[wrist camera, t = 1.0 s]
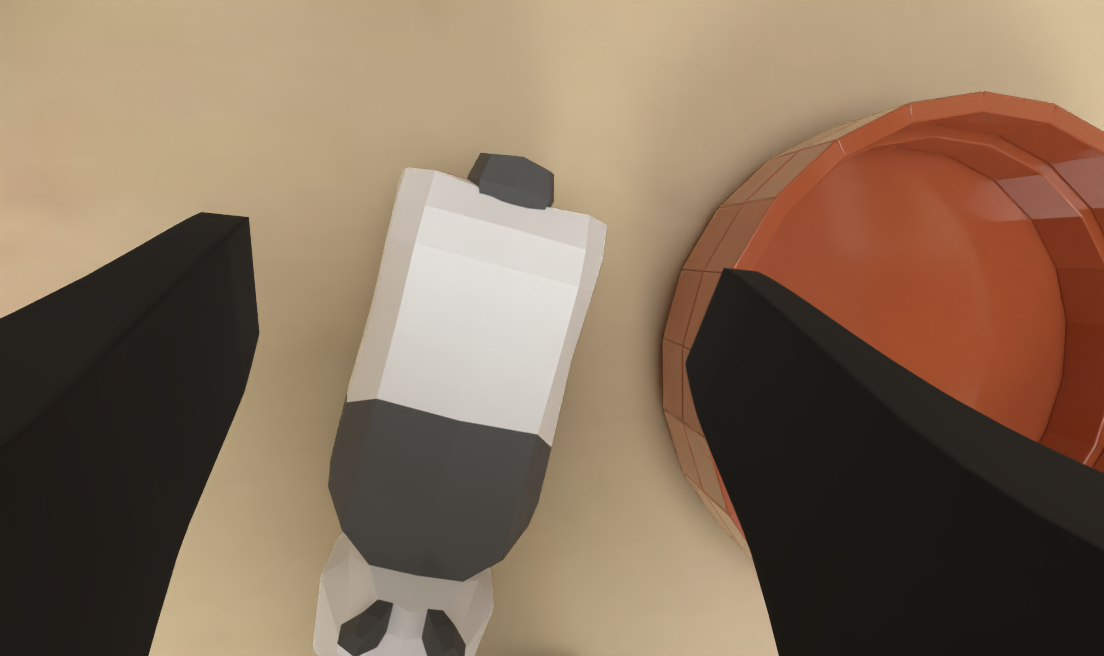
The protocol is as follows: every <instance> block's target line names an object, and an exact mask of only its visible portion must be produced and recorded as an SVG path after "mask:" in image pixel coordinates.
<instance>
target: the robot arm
mask: <svg viewBox="0 0 1104 656" xmlns="http://www.w3.org/2000/svg"><path fill="white" fill-rule="evenodd" d="M258 337H259V325H258V314H257V303H256V292H255V281H254V270H253V259H252V248H251V237H250V226H249V217H242V216H232V215H223V214H214V213H204V212H201V213H198V214H196V215H194V216H192V217H190V218H188V219H186V220H184V221H182V222H181V223H179V224H177V225H175V226H173V227H172V228H170V229H168V230H166V231H165V232H163V233H161V234H159V235H158V236H156V237H154V238H152V239H151V240H149V241H147V242H145V243H144V244H142V245H140V246H139V247H137V248H135V249H133V250H131V251H130V252H128V253H126V254H124V255H123V256H121V257H119V258H117V259H115V260H114V261H112V262H110V263H108V264H106V265H105V266H103V267H101V268H99V269H98V270H96V271H94V272H92V273H90V274H89V275H87V276H85V277H83V278H81V279H79V280H77V281H75V282H73V283H71V284H69V285H67V286H65V287H63V288H61V289H59V290H57V291H55V292H53V293H51V294H49V295H47V296H45V297H43V298H41V299H39V300H37V301H35V302H33V303H31V304H29V305H27V306H25V307H23V308H21V309H19V310H17V311H15V312H13V313H11V314H9V315H7V316H5V317H3V318H0V656H148V655H149V652H150V648H151V644H152V641H153V637H154V634H155V630H156V626H157V623H158V620H159V616H160V613H161V609H162V606H163V603H164V599H165V596H166V593H167V589H168V586H169V582H170V579H171V576H172V572H173V569H174V566H175V562H176V559H177V556H178V553H179V550H180V547H181V545H182V542H183V539H184V536H185V534H186V531H187V528H188V526H189V523H190V521H191V518H192V516H193V513H194V511H195V509H196V506H197V504H198V502H199V499H200V497H201V495H202V492H203V490H204V487H205V485H206V483H207V480H208V478H209V476H210V473H211V471H212V468H213V466H214V464H215V461H216V459H217V457H218V454H219V452H220V450H221V447H222V445H223V442H224V440H225V438H226V435H227V433H228V430H229V428H230V426H231V423H232V421H233V418H234V416H235V414H236V411H237V409H238V406H239V404H240V401H241V399H242V396H243V394H244V391H245V388H246V384H247V380H248V377H249V373H250V369H251V365H252V361H253V357H254V353H255V349H256V345H257V341H258ZM685 368H686V372H687V377H688V382H689V386H690V391H691V395H692V399H693V403H694V407H695V411H696V415H697V417H698V420H699V423H700V425H701V428H702V431H703V433H704V436H705V438H706V441H707V443H708V446H709V448H710V451H711V454H712V456H713V459H714V461H715V463H716V466H717V468H718V471H719V473H720V476H721V478H722V481H723V483H724V486H725V488H726V490H727V493H728V495H729V498H730V500H731V503H732V505H733V508H734V510H735V513H736V515H737V518H738V520H739V522H740V525H741V527H742V530H743V532H744V535H745V538H746V541H747V544H748V547H749V549H750V552H751V555H752V558H753V561H754V565H755V568H756V572H757V575H758V579H759V582H760V586H761V589H762V593H763V597H764V600H765V604H766V607H767V611H768V614H769V618H770V622H771V626H772V630H773V634H774V638H775V642H776V646H777V650H778V654H779V656H1104V473H1103V472H1100V471H1098V470H1096V469H1093V468H1091V467H1089V466H1087V465H1085V464H1082V463H1080V462H1078V461H1076V460H1074V459H1072V458H1070V457H1068V456H1065V455H1063V454H1061V453H1059V452H1057V451H1055V450H1053V449H1051V448H1048V447H1046V446H1044V445H1042V444H1040V443H1038V442H1036V441H1034V440H1032V439H1030V438H1028V437H1026V436H1024V435H1022V434H1020V433H1018V432H1016V431H1014V430H1012V429H1010V428H1008V427H1006V426H1004V425H1002V424H1000V423H998V422H997V421H995V420H993V419H991V418H989V417H988V416H986V415H984V414H982V413H980V412H978V411H977V410H975V409H973V408H971V407H969V406H967V405H966V404H964V403H962V402H960V401H958V400H956V399H955V398H953V397H951V396H950V395H948V394H946V393H945V392H943V391H941V390H939V389H938V388H936V387H934V386H933V385H931V384H930V383H928V382H926V381H925V380H923V379H922V378H920V377H919V376H917V375H915V374H914V373H912V372H911V371H909V370H907V369H906V368H904V367H903V366H901V365H900V364H898V363H896V362H895V361H893V360H892V359H890V358H889V357H887V356H886V355H884V354H883V353H881V352H880V351H878V350H877V349H875V348H874V347H872V346H871V345H869V344H868V343H866V342H865V341H863V340H862V339H860V338H859V337H858V336H856V335H855V334H853V333H852V332H850V331H849V330H847V329H846V328H845V327H843V326H842V325H840V324H839V323H837V322H836V321H834V320H833V319H832V318H830V317H829V316H827V315H826V314H824V313H823V312H822V311H820V310H819V309H817V308H816V307H814V306H813V305H811V304H810V303H809V302H807V301H806V300H804V299H803V298H801V297H800V296H798V295H797V294H795V293H794V292H792V291H791V290H789V289H788V288H786V287H785V286H783V285H781V284H780V283H778V282H777V281H775V280H773V279H771V278H770V277H768V276H766V275H764V274H762V273H760V272H758V271H750V270H740V269H731V268H723V271H722V273H721V276H720V278H719V281H718V283H717V286H716V288H715V290H714V293H713V295H712V298H711V300H710V303H709V305H708V308H707V310H706V313H705V315H704V317H703V320H702V322H701V325H700V327H699V330H698V332H697V335H696V337H695V340H694V342H693V344H692V347H691V349H690V352H689V354H688V357H687V359H686V362H685Z"/></svg>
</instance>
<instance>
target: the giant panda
mask: <svg viewBox="0 0 1104 656" xmlns="http://www.w3.org/2000/svg"><path fill="white" fill-rule="evenodd" d="M553 202H554V174H553V173H552V172H550V171H549V170H547V169H545V168H543V167H541V166H539V165H537V164H536V163H534V162H532V161H530V160H528V159H526V158H524V157H518V156H508V155H498V154H487V153H480V155H479V157H478V159H477V160H476V162H475V164H474V166H473V168H472V170H471V171H470V173H469V175H468V179H465V178H461V177H458V176H454V175H451V174H447V173H443V172H440V171H436V170H428V169H419V168H409V167H406V168H405V169H404V170H403V171H402V172H401V175H400V179H399V184H398V188H397V193H396V197H395V201H394V206H393V210H392V215H391V219H390V223H389V228H388V232H387V236H386V241H385V245H384V250H383V255H382V259H381V264H380V269H379V273H378V278H377V283H376V287H375V292H374V297H373V301H372V305H371V308H370V312H369V315H368V319H367V322H366V326H365V330H364V333H363V337H362V340H361V344H360V347H359V351H358V355H357V358H356V362H355V365H354V369H353V372H352V376H351V380H350V383H349V387H348V390H347V394H346V398H345V402H344V406H343V410H342V414H341V418H340V422H339V426H338V430H337V434H336V439H335V443H334V447H333V452H332V456H331V461H330V472H329V483H328V487H329V491H330V494H331V497H332V500H333V503H334V506H335V509H336V513H337V516H338V519H339V522H340V525H341V528H342V531H343V533H342V534H341V535H339V536H338V538H337V540H336V543H335V545H334V547H333V549H332V552H331V554H330V556H329V558H328V561H327V563H326V565H325V567H324V570H323V572H322V574H321V577H320V585H319V594H318V603H317V612H316V621H315V629H314V638H313V647H312V648H313V650H314V651H315V653H316V654H317V656H475V653H476V651H477V648H478V646H479V643H480V641H481V638H482V636H483V633H484V631H485V628H486V626H487V624H488V621H489V619H490V616H491V614H492V611H493V609H494V606H495V605H494V595H493V586H492V576H491V566H493V565H494V564H496V563H498V562H500V561H502V560H503V559H504V558H505V556H506V555H507V553H508V552H509V551H510V549H511V548H512V547H513V545H514V544H515V543H516V541H517V540H518V539H519V537H520V536H521V535H522V533H523V532H524V531H525V529H526V528H527V527H528V525H529V523H530V520H531V518H532V516H533V513H534V511H535V508H536V506H537V504H538V501H539V497H540V493H541V488H542V484H543V480H544V476H545V472H546V468H547V464H548V459H549V455H550V451H551V447H552V443H553V438H554V434H555V430H556V426H557V421H558V417H559V413H560V408H561V404H562V400H563V396H564V391H565V387H566V383H567V378H568V374H569V370H570V366H571V361H572V357H573V354H574V351H575V348H576V345H577V342H578V338H579V335H580V332H581V329H582V326H583V323H584V320H585V316H586V313H587V310H588V307H589V304H590V301H591V298H592V295H593V291H594V288H595V284H596V281H597V277H598V274H599V271H600V267H601V264H602V260H603V256H604V248H605V240H606V232H607V225H606V224H604V223H602V222H601V221H599V220H597V219H595V218H594V217H592V216H590V215H587V214H582V213H577V212H571V211H566V210H561V209H557V208H554V207H552V204H553Z"/></svg>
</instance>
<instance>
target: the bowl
mask: <svg viewBox="0 0 1104 656" xmlns="http://www.w3.org/2000/svg"><path fill="white" fill-rule="evenodd" d="M723 268H731V269H740V270H750V271H758V272H760V273H762V274H764V275H766V276H768V277H770V278H771V279H773V280H775V281H777V282H778V283H780V284H781V285H783V286H785V287H786V288H788V289H789V290H791V291H792V292H794V293H795V294H797V295H798V296H800V297H801V298H803V299H804V300H806V301H807V302H809V303H810V304H811V305H813V306H814V307H816V308H817V309H819V310H820V311H822V312H823V313H824V314H826V315H827V316H829V317H830V318H832V319H833V320H834V321H836V322H837V323H839V324H840V325H842V326H843V327H845V328H846V329H847V330H849V331H850V332H852V333H853V334H855V335H856V336H858V337H859V338H860V339H862V340H863V341H865V342H866V343H868V344H869V345H871V346H872V347H874V348H875V349H877V350H878V351H880V352H881V353H883V354H884V355H886V356H887V357H889V358H890V359H892V360H893V361H895V362H896V363H898V364H900V365H901V366H903V367H904V368H906V369H907V370H909V371H911V372H912V373H914V374H915V375H917V376H919V377H920V378H922V379H923V380H925V381H926V382H928V383H930V384H931V385H933V386H934V387H936V388H938V389H939V390H941V391H943V392H945V393H946V394H948V395H950V396H951V397H953V398H955V399H956V400H958V401H960V402H962V403H964V404H966V405H967V406H969V407H971V408H973V409H975V410H977V411H978V412H980V413H982V414H984V415H986V416H988V417H989V418H991V419H993V420H995V421H997V422H998V423H1000V424H1002V425H1004V426H1006V427H1008V428H1010V429H1012V430H1014V431H1016V432H1018V433H1020V434H1022V435H1024V436H1026V437H1028V438H1030V439H1032V440H1034V441H1036V442H1038V443H1040V444H1042V445H1044V446H1046V447H1048V448H1051V449H1053V450H1055V451H1057V452H1059V453H1061V454H1063V455H1065V456H1068V457H1070V458H1072V459H1074V460H1076V461H1078V462H1080V463H1082V464H1085V465H1087V466H1089V467H1091V468H1093V469H1096V470H1098V471H1100V472H1103V473H1104V132H1103V131H1102V130H1100V129H1098V128H1096V127H1095V126H1093V125H1091V124H1089V123H1088V122H1086V121H1084V120H1082V119H1081V118H1079V117H1077V116H1075V115H1073V114H1072V113H1070V112H1068V111H1066V110H1065V109H1063V108H1061V107H1059V106H1058V105H1055V104H1053V103H1048V102H1042V101H1036V100H1031V99H1025V98H1020V97H1014V96H1008V95H1003V94H997V93H992V92H986V91H984V92H974V93H968V94H962V95H955V96H949V97H943V98H936V99H930V100H924V101H917V102H911V103H907V104H904V105H901V106H898V107H895V108H892V109H889V110H886V111H883V112H880V113H876V114H873V115H870V116H867V117H864V118H861V119H858V120H855V121H852V122H849V123H846V124H842V125H839V126H836V127H833V128H830V129H828V130H826V131H824V132H822V133H820V134H818V135H816V136H814V137H812V138H810V139H808V140H806V141H804V142H802V143H800V144H798V145H796V146H794V147H792V148H790V149H788V150H786V151H784V152H782V153H780V154H778V155H776V156H774V157H772V158H771V159H770V160H768V161H767V162H766V163H765V164H764V165H763V166H762V167H761V168H760V169H759V170H757V171H756V172H755V173H754V174H753V175H752V176H751V177H750V178H749V179H748V180H747V181H746V182H745V183H744V184H743V185H742V186H741V187H739V188H738V189H737V190H736V191H735V192H734V193H733V194H732V195H731V196H730V197H729V198H728V199H727V200H726V201H725V202H724V203H723V204H721V205H720V207H719V208H718V209H717V211H716V212H715V214H714V216H713V217H712V219H711V221H710V222H709V224H708V226H707V228H706V229H705V231H704V233H703V234H702V236H701V238H700V239H699V241H698V243H697V244H696V246H695V248H694V249H693V251H692V253H691V254H690V256H689V258H688V259H687V261H686V263H685V264H684V266H683V268H682V269H683V270H682V271H681V273H680V277H679V281H678V284H677V288H676V292H675V295H674V299H673V303H672V306H671V310H670V314H669V317H668V321H667V325H666V328H665V332H664V336H663V338H664V339H663V407H664V408H663V410H664V413H665V417H666V420H667V423H668V426H669V430H670V433H671V436H672V440H673V443H674V446H675V450H676V453H677V456H678V459H679V463H680V466H681V469H682V471H683V472H684V475H685V476H686V478H687V479H688V481H689V482H690V484H691V485H692V487H693V488H694V490H695V491H696V493H697V494H698V496H699V497H700V499H701V500H702V501H703V503H704V504H705V506H706V507H707V509H708V510H709V512H710V513H711V515H712V516H713V518H714V519H715V521H716V522H717V523H718V524H719V526H720V527H721V528H722V529H723V530H724V531H725V532H726V533H727V534H728V535H729V536H730V537H731V538H732V539H733V540H734V541H735V542H736V543H737V544H738V545H739V546H740V547H741V548H742V549H743V550H744V551H745V552H746V553H747V554H748V555H749V556H750V557H751V558H752V555H751V552H750V549H749V547H748V544H747V541H746V538H745V535H744V532H743V530H742V527H741V525H740V522H739V520H738V518H737V515H736V513H735V510H734V508H733V505H732V503H731V500H730V498H729V495H728V493H727V490H726V488H725V486H724V483H723V481H722V478H721V476H720V473H719V471H718V468H717V466H716V463H715V461H714V459H713V456H712V454H711V451H710V448H709V446H708V443H707V441H706V438H705V436H704V433H703V431H702V428H701V425H700V423H699V420H698V417H697V415H696V411H695V407H694V403H693V399H692V395H691V391H690V386H689V382H688V377H687V372H686V368H685V362H686V359H687V357H688V354H689V352H690V349H691V347H692V344H693V342H694V340H695V337H696V335H697V332H698V330H699V327H700V325H701V322H702V320H703V317H704V315H705V313H706V310H707V308H708V305H709V303H710V300H711V298H712V295H713V293H714V290H715V288H716V286H717V283H718V281H719V278H720V276H721V273H722V271H723ZM752 559H753V558H752Z"/></svg>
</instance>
